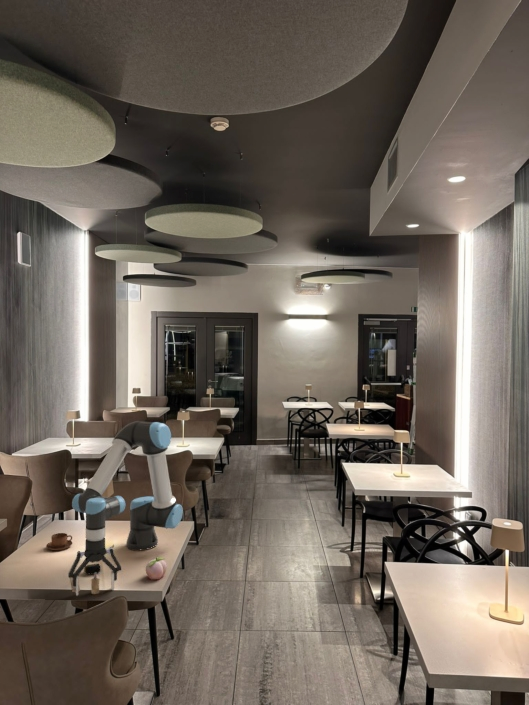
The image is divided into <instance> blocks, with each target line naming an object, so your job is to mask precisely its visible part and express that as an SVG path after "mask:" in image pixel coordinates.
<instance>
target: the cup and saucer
mask: <svg viewBox="0 0 529 705" xmlns="http://www.w3.org/2000/svg"><path fill="white" fill-rule="evenodd" d="M68 538H70V539H68ZM72 540H73V536H72V535H71V534H69V535H68V534H67V533H64V532H60V533H54V534H52V535H51V541H50V542H48V543H47V544H46V545H45V546H46V548H47V549H48V550H50V551H62V550H66V549H68V548H71V546H72V545H73V541H72Z"/></svg>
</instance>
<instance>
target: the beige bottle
mask: <svg viewBox="0 0 529 705" xmlns="http://www.w3.org/2000/svg"><path fill="white" fill-rule="evenodd" d="M97 573H98V572H97ZM97 573H96V572H95V573H94V574H93V577H92V578H91V580H90V581H91V589H90V590H91V594H92V595H96V594H97V595H98V594H100V578H99V577H98V576H97V575H98V574H97Z"/></svg>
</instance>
